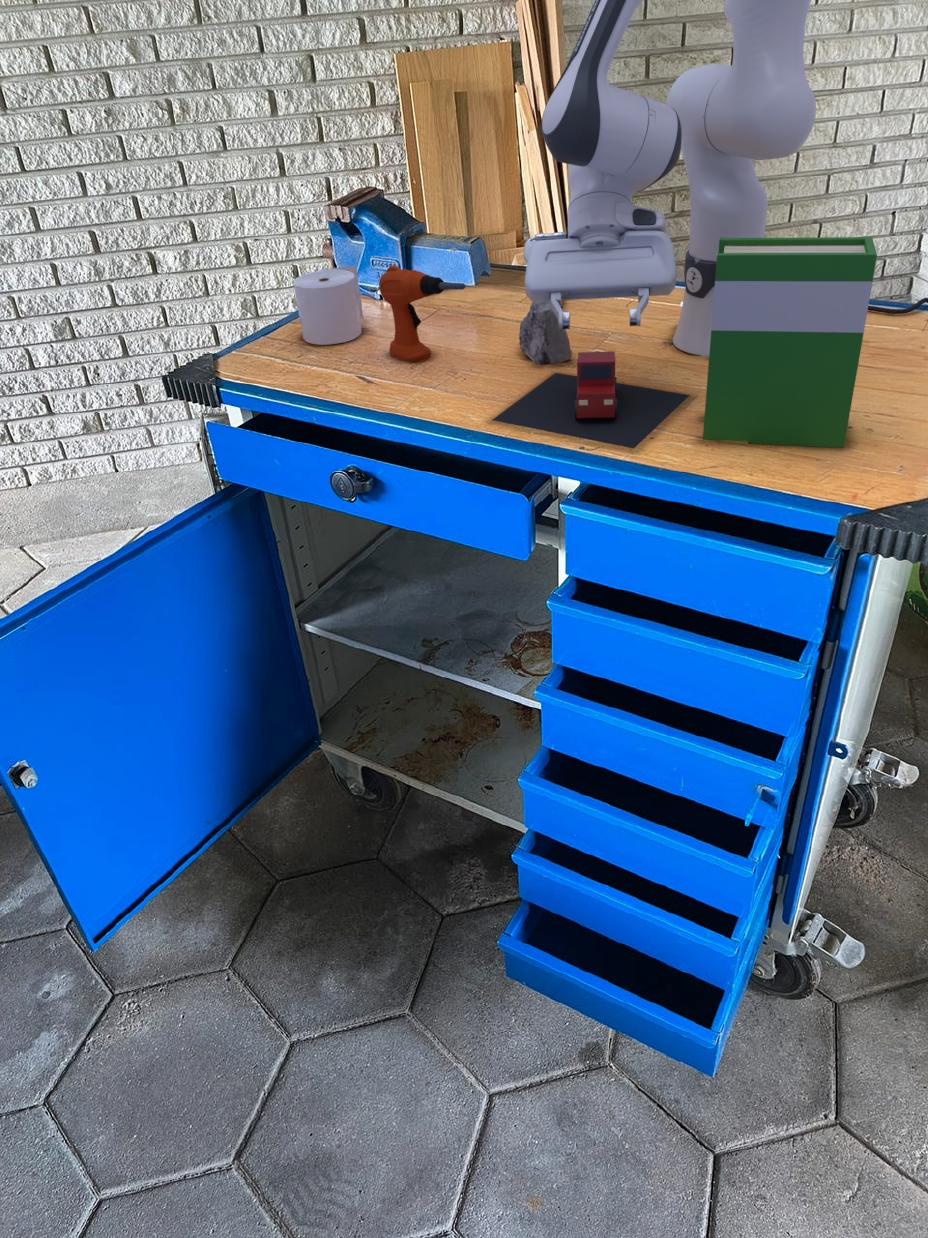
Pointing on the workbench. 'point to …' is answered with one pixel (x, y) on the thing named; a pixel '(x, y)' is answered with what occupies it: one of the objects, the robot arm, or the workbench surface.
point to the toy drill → (409, 308)
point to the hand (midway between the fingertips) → (599, 325)
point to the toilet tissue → (329, 305)
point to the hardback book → (787, 338)
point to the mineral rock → (544, 335)
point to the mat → (556, 414)
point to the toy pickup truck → (596, 385)
